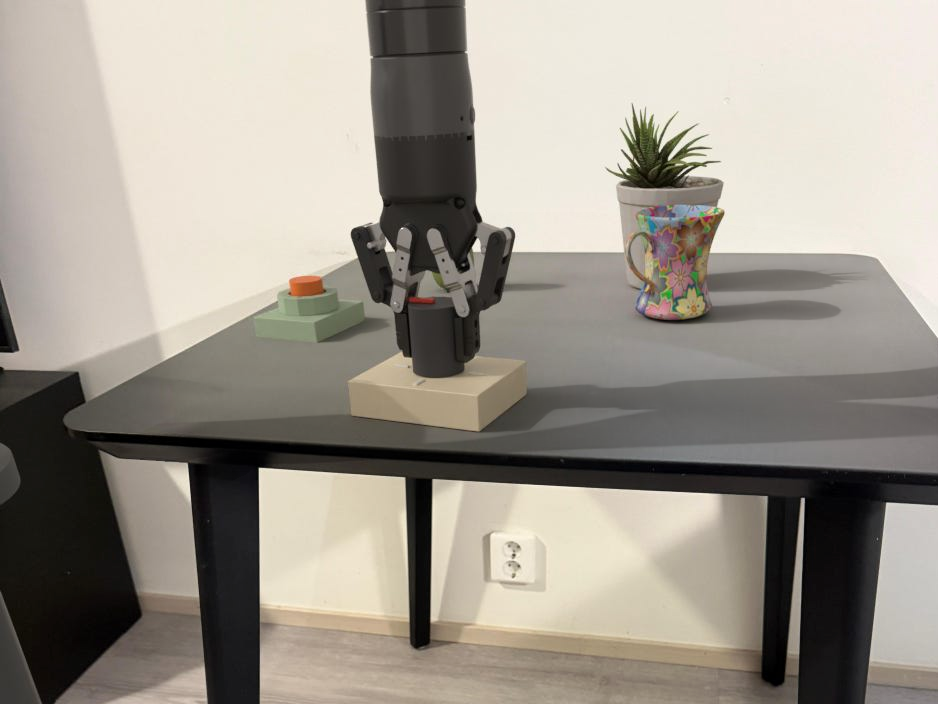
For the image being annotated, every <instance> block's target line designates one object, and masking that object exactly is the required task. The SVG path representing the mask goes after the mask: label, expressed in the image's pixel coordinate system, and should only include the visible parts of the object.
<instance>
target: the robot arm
mask: <svg viewBox="0 0 938 704" xmlns="http://www.w3.org/2000/svg"><path fill="white" fill-rule="evenodd" d="M364 2H365V12H366V13H365V17H366V27H367V38H368V49H369V56H370V81H369V82H370V86H369V87H370V89H369V90H370V91H369V93H370V106H371V118H372V128H373V140H374V149H375V161H376V170H377V172H376V173H377V183H378V192H379V195H380V197H381V200H382V210H381V213H380V216H379V221H376V222H367V223H365V224H362V225H358V226H355V227H353V228H351V231H350V239H351V242H352V245H353V247H354V251H355V253H356V256H357V259H358V261H359V265H360V268H361V271H362V275H363V277H364V280H365V283H366V286H367V289H368V292H369V295H370V298H371V300H372V301H373V302H374V304H381V303H382V304H383V305H385V306H388V307H389V308H390V309H391V310H392V312H393V315H394V326H395V335H396V345H397V348H398V349H399V351H401V352H402V353H403V356H404V357H407V358H412V353H411V340H410V327H409V314H408V303H409V298H411V297H419V292H420V288H421V283H422V280H423V279H424V277H425V274H426V271H429V272H431V273H432V272H434V273H437V274H441V277H442V280H443V283H444V286H445V288H446V289H448V290H447V291H449V294H450V297H452V300H453V303H454V307H455V310H456V312H457V314H458V316H456V317H455V318H454V325H455V342H456V358H457V362H460V363H467V362H469V361H470V360H472V359H473V358H474V357H475V356H476V354H478V353H479V351H480V349H481V325H480V314H481V311H486V310H488V309H489V308H491V307H493V306H496V305H498V304H499V303H500V302H501V301H502V297H503V294H504V293H503V292H504V289H505V285H506V279H507V275H508V270H509V268H510V262H511V257H512V253H513V249H514V244H515V240H516V232H515V230H514V228H512V227H511V226H505V227H501V228H500V227H498V226H495V225H492V224H489V223H487V222H485V221H484V220H483V217H482V215H481V213H480V211H479V209H478V205H477V193H478V192H477V191H478V184H477V183H478V182H477V161H476V160H477V159H476V136H475V135H476V133H475V122H476V111H475V110H476V109H475V107H474V91H473V90H474V89H473V82H472V77H471V76H472V75H471V70H470V63H469V54H468V53H467V52H468V37H467V36H468V33H467V31H468V30H467V11H466V9H467V8H466V5H467V4H466V0H365V1H364ZM477 240H479V243H480V246H479V247H480V252H481V254H482V255H483V256H484V258H483V263H482V266H481V270H480V271H481V272H480V276H479V281H478V285H477V282H476V278H477V273H476V269H475V264H474V265H473V262H472V259H471V256H470V253H469V252H470V250H471V248H472V249H473V246H474V245H475V243H476V242H477ZM387 241H388V243H389V245H390V246H391V248H392V249H393V251H394V252H395V257H394V258H395V259H394V264H393V269H392V267H391V264H390V261H389V258H388V255H387V251H386V246H387ZM457 269H458V271H457Z"/></svg>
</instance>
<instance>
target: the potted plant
mask: <svg viewBox="0 0 938 704" xmlns="http://www.w3.org/2000/svg"><path fill="white" fill-rule="evenodd" d="M631 111H632V126H633V127H632V128H633V131H632V129H631V127H630V125H629V122H628V119H627V117H624V119H625V125H626V128H627V130H628V133H629V136H630V138H629V137H628V135H627V134H626V132H625V131H624V130H623V129H622V128H621V127H619V130H620V132H621V134H622V136H623V138H624V141H625V143H626V145H627V147H628V150H629V153H631V155H632V157H630V155H628V153H626V151H625V150H624V149H620V151H621V153H622V155H624V157H625V158H626V159H627V160H628V161H629V165H630V167H627V168H626V170H625V171H624V170H623V169H622V167H621V166H620V164H619V162H617V163H616V164H617V167H618V169H619V171H620V173H619V172H616V171H613V170H611V169H610V168H608V167H606V166H604V168H605V169H606V171H607V172H609V173H610V174H612V175H614V176H615V177H618V178H620V179H623V180H621V181H619V182H617V184H616V185H615V189H616V197H617V202H618V204H619V205H618V207H619V215H620V216H619V217H620V224H621V225H620V226H621V234H622V243H623V254H624V263H625V273H626V279H627V283H628V284H629V285H630V286H631V287H633V288H635V289H639V290H641V288H642V284H643V281H642V280H640V279H639V278H638V277H637V276H636V275H635V274H634V273H633V272H632V270H631V269H630V267H629V265H628V262H627V260H626V256H625V244H626V241H627V239H628V238H629V236H630V235H631V234H632V233H634V232H636V231H640V228H639V225H638V222H637V219H636V217H635V213H636V211H637V210H640V209H643V208H648V207H654V206H664V205H703V206H712V207H718V205H719V201H720V199H721V196H722V193H723V187H724V184H725V183H724V181H722V179H719V178H716V177H708V176H696V175H690V174H689V173H690V172H692V171H693V170H695V169H697V168H700V167H703V168H707V167H708V164H716V163H722V161H721V160H706V161H704V162H703V161H702V162H699V161H690V162H687V161H685V160H683V159H685V158H688V157H707V156H708V155H707V154H704V153H699V152H692V151H696V150H697V151H698V150H713V147H709V146H702V145H701V146H694V147H690V146H692V145H694V143H696V142H697V141H699V140H700V139H703V138H705V137H708V136H710V134H708V133H707V134H704V135H700V136H698V137H696V138H694V139H692V140H690V141H689V142H688V143H686V144H684V145H683V146H682V147H681V148H680V149H679V150H678V151H677V152H676V153H675V154H674V155H673V156H672V157H671V158H670V156H671V154H672V153H673V152H674V150H675V148H676V147H677V146H678V145H679V144H680V142H681V140H682V139H683V138H684V137H685V136H686V135H687V134H688V133H689V131H691V130H693V129H694V128H695V127H696V126H698V125H700V123H695V124H694V125H692V126H690V127H689V128H686V129H684V130H683V131H681V132H680V133H678V134H677V135H676V136H674V137H672V138H671V139H669V140H668V141H667V142H665V144H664V145H663V146H662V147H661V144H662V140H663V138H664V135H665V133H666V131H667V129H668V127H669V125H670V123H671V122H672V121H673V119H674V118H675V117H676V116H677V114H678V113H680V112H679V110H678V111H676V113H674V115H673V116H672V117H671V118H670V119H668V121H667V122H666V124H665V126H664V127H663V129H662V131H661V133H660V135H659V138H658V132H659V128H660V124H657V127H656V129H655V123H654V116H655V115H654V113H652V114H651V116H650V118H649V121H648V123H647V121H646V120H647V119H646V118H647V106H644V112H643V113H644V114H642V109H639V120H638V117H637V115H636V111H635V107H634V104H633V102H631ZM654 131H655V132H654ZM660 147H661V149H660ZM669 158H670V159H669ZM635 161H636V162H635ZM688 174H689V175H688ZM631 256H632V260H633V263H634V265H635V267H636V268H637V270H638V271H639V272H640V273H641V274H642V275H643V276H644V269H645V256H644V246H643V240H642V236H641V235H640V236H637V237H636V238H635V239H634V240H633V242H632V245H631Z"/></svg>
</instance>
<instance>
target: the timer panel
mask: <svg viewBox="0 0 938 704" xmlns="http://www.w3.org/2000/svg"><path fill="white" fill-rule="evenodd" d="M464 365H465V369H464V371H463V372H461V373H459V374H456V375H453V376H448V377H438V378H431V377H422V376H418V375H416V374H414V372H413V366H412V358H407V357H404V356H403V353H402V351H400V352H398V353H397V354H395V355H393V356H391V357H389V358H387V359H386V360H384V361H382V362H380V363H378V364H377V365H375V366H373V367H371V368H369V369H367V370H366V371H364V372H362V373H360V374H358V375H357V376H355V377H353V378H351V379H349V380H348V381H347V386H348V394H349V395H348V396H349V403H350V412H351V417H359V418H366V419H374V420H375V419H376V420H383V421H391V422H399V423H406V424H414V425H421V426H422V425H423V426H430V427H439V428H445V429H454V430H463V431H470V432H476V433H477V432H479V433H480V432H481V431H482V430H483V429H485V428H486V427H487V426H488V425H490V424H492V422H494V421H495V420H496V419H498V417H500V416H501V415H502V414H504V413H505V412H506V411H508V410H509V409H510V408H511V407H512V406H514V405H516V403H518V402H519V401H520V400H521V399H523V398H524V397H525V396H527V394H528V393H527V392H528V391H527V390H528V389H527V388H528V387H527V386H528V385H527V383H528V382H527V378H528V377H527V360H525V359H524V360H523V359H512V358H500V357H489V356H481V355H480V356H478V355H475V357H474V358H473V359H472V360H470V361H469V362H467V363H464Z"/></svg>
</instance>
